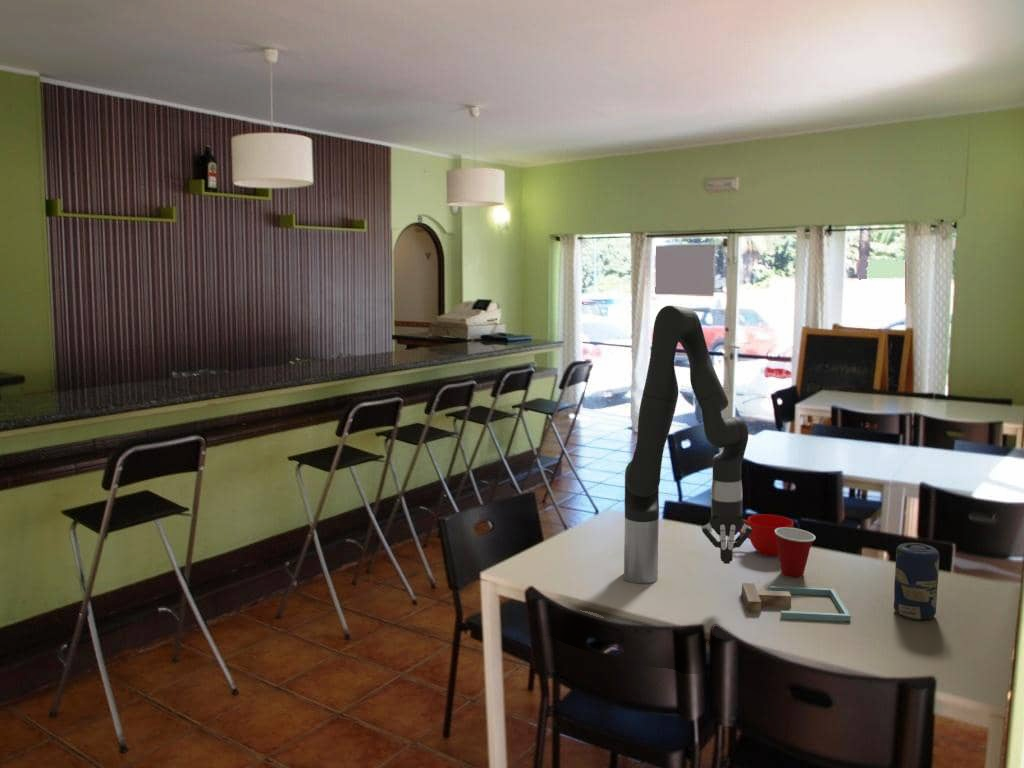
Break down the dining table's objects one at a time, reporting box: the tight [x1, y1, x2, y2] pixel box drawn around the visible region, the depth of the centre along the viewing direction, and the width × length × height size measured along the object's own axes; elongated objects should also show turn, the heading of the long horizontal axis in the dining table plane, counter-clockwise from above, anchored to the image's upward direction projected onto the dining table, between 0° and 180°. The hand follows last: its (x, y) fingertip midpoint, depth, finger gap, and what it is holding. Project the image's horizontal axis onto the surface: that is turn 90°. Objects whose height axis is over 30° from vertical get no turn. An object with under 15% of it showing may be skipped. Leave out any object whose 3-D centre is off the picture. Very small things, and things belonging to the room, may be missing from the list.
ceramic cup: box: [738, 513, 794, 558], centre depth 246 cm, size 13×17×10 cm
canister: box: [893, 542, 940, 620], centre depth 200 cm, size 10×10×18 cm
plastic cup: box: [775, 527, 816, 579], centre depth 228 cm, size 11×11×12 cm
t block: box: [741, 582, 792, 614], centre depth 208 cm, size 11×12×3 cm
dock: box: [769, 585, 852, 622], centre depth 207 cm, size 16×17×2 cm
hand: (726, 562), depth 209 cm, fingers closed
